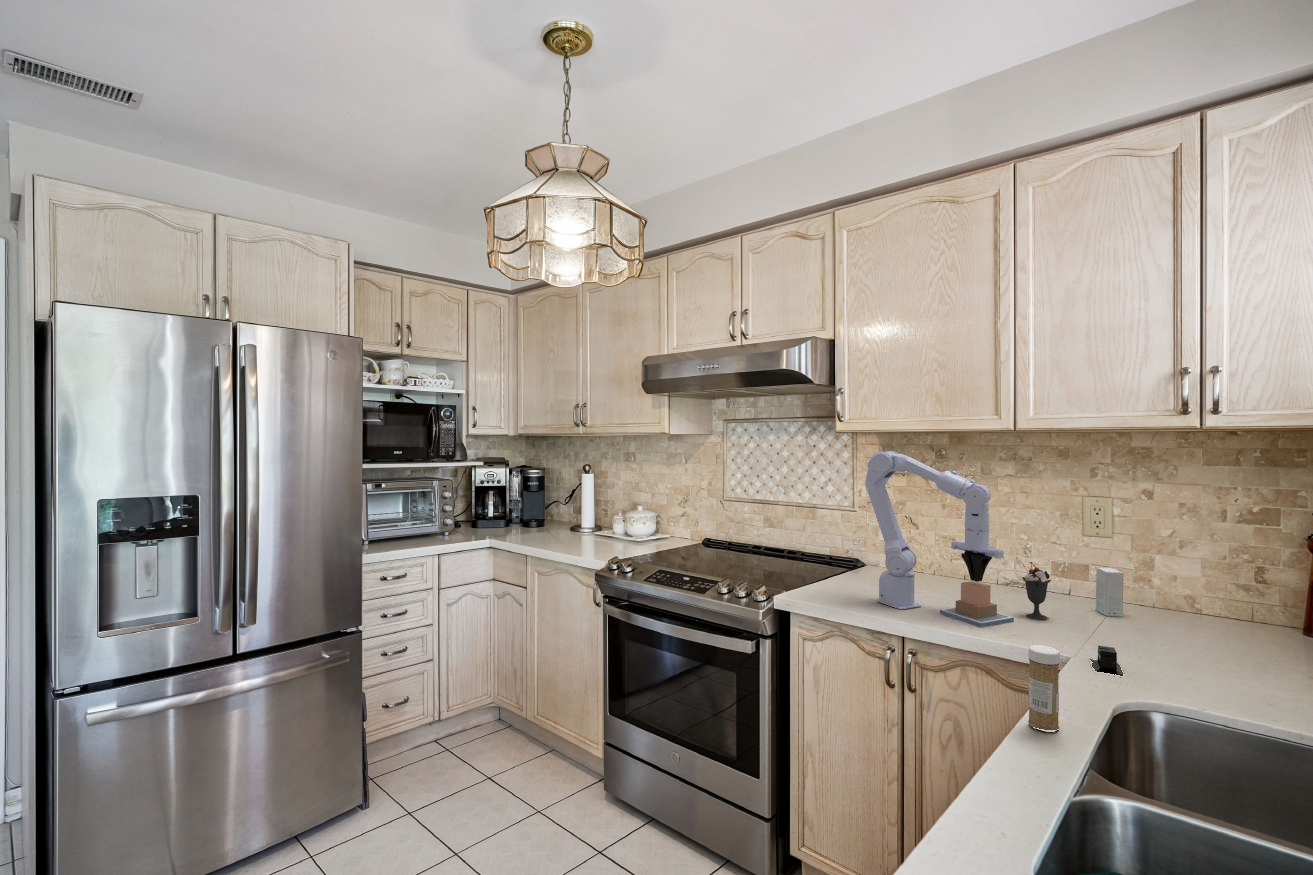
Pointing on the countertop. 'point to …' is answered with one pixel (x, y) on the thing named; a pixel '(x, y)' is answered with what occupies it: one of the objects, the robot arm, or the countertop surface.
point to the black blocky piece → (1107, 661)
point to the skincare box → (1109, 591)
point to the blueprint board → (977, 614)
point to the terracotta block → (975, 593)
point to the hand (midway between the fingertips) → (976, 580)
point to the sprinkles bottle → (1043, 687)
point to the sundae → (1036, 590)
